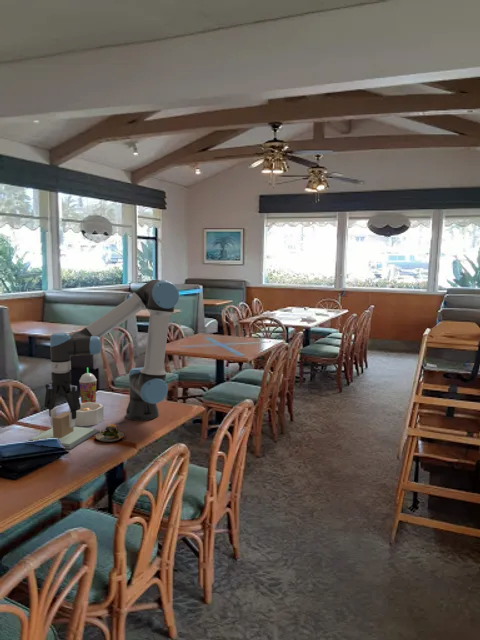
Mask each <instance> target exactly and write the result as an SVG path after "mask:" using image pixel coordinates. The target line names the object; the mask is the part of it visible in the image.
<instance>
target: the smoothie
mask: <svg viewBox="0 0 480 640" xmlns="http://www.w3.org/2000/svg"><path fill="white" fill-rule="evenodd" d="M97 381H98V379H97V378H96V376H95V375H94V374H93V373H91V372H89V367H86V372H85V373H84V374H81V377H80V378H79V380H78V383H79V392H80V403H87V402H93V403H97Z"/></svg>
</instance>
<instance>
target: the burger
mask: <svg viewBox="0 0 480 640" xmlns="http://www.w3.org/2000/svg"><path fill="white" fill-rule="evenodd" d="M94 436H95V437H94V440H98V441H99V442H106V443H107V442H108V443H109V442H115V441H119V440H121V441H122V440H123V441H124V440H125V439H126V434H125V432H123V431H121V430H119V429H117V426H116V425H115V424H113V423H111V424H108V425H107V426H106V427H105V430H100V432H99V433H97V434H95V435H94Z"/></svg>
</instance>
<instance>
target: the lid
mask: <svg viewBox="0 0 480 640" xmlns="http://www.w3.org/2000/svg"><path fill="white" fill-rule="evenodd" d="M95 430H96V429H95V428H91V427H84V426H73V427H71V428H70V423H69V411H64V412H61V413H59V414H56V416H55V417H53V426H52V427H51V428H50V429H47V430H45V431H43V432H42V433H39V434H38V435H36V436H34V437H32V438H30V439H29V440H30V441H33V440H39V439H47V438H58V439H59V440H60V441H61V443H62V445H63V446H71V445H73V444H75V443H76V442H78V441H80V440H81V439H83V438H84V437H86V436H88V435H89V434H91V433H93V432H94V431H95Z"/></svg>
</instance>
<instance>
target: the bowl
mask: <svg viewBox="0 0 480 640" xmlns="http://www.w3.org/2000/svg"><path fill="white" fill-rule="evenodd" d="M80 406H81V409H79V410H77V411H76V419H75V427H86V426H87V427H88V426H94V425H98V424H100V423H101V422H103V421H105V420H104V419H105V418H104V417H105V416H104V405H103V404H102V403H101V402H96V403H93V402H87V403H81V402H80ZM70 411H71V410H70V407H69V406H68V412H70Z"/></svg>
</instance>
